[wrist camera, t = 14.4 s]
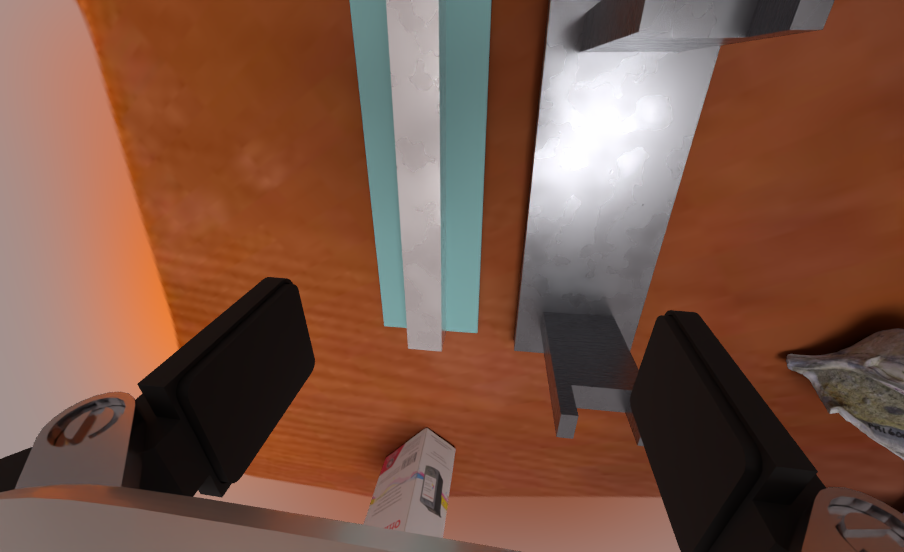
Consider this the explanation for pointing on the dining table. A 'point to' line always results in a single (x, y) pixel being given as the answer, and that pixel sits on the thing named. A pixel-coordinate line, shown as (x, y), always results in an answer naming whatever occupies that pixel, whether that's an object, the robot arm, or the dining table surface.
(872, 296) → the dining table surface
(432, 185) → the rail
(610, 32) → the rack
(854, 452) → the dining table surface
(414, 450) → the ink box
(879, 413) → the seashell
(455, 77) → the mat
